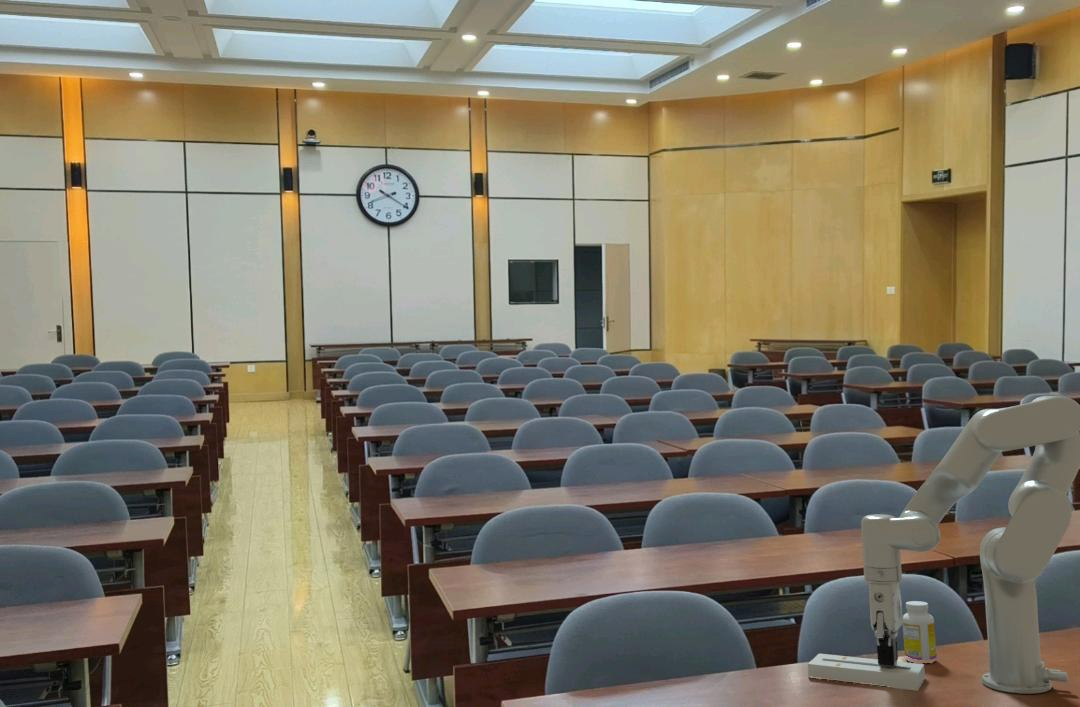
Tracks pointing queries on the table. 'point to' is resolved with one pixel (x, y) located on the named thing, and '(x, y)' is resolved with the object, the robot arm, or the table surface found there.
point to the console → (867, 671)
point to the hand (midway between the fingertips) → (888, 661)
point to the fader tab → (893, 637)
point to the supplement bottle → (919, 632)
